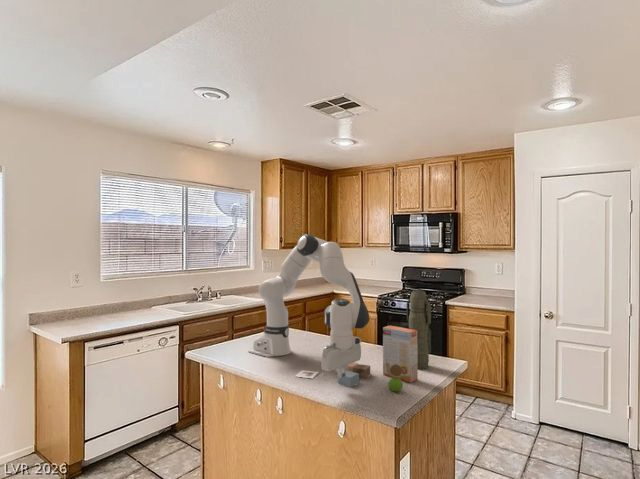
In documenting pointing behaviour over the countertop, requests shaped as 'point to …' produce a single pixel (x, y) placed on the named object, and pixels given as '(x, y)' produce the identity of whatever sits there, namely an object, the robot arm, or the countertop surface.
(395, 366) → the snail figurine
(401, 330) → the cracker box
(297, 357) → the countertop surface
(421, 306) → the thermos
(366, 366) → the base block
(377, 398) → the countertop surface
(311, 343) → the countertop surface
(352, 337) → the robot arm
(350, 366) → the terracotta block
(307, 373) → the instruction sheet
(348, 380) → the slate block
